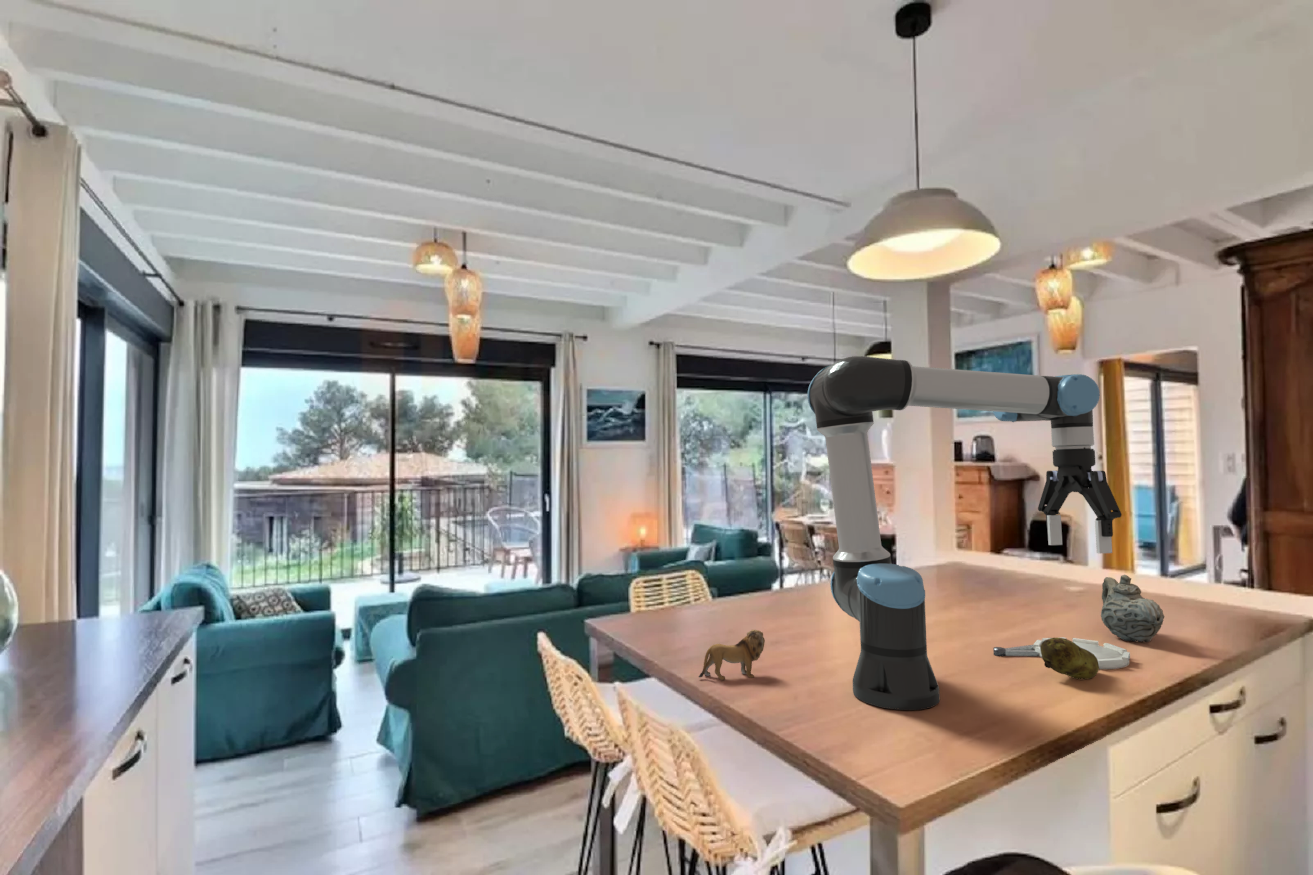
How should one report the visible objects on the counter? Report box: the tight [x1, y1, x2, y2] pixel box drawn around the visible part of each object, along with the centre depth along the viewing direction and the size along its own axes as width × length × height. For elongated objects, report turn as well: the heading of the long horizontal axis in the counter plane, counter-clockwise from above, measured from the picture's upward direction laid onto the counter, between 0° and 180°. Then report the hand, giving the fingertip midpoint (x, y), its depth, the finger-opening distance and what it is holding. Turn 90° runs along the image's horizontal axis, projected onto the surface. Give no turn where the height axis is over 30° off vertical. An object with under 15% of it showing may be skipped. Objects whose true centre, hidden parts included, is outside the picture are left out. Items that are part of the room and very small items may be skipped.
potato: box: [1040, 637, 1100, 680], centre depth 124 cm, size 8×13×8 cm, turn 97°
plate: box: [1032, 636, 1131, 670], centre depth 137 cm, size 17×17×2 cm
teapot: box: [1100, 574, 1165, 643], centre depth 149 cm, size 21×12×15 cm, turn 171°
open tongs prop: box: [992, 641, 1043, 657], centre depth 140 cm, size 16×9×1 cm, turn 94°
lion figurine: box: [698, 629, 766, 681], centre depth 131 cm, size 15×5×9 cm, turn 105°
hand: (1078, 548), depth 132 cm, fingers open, 13 cm apart
